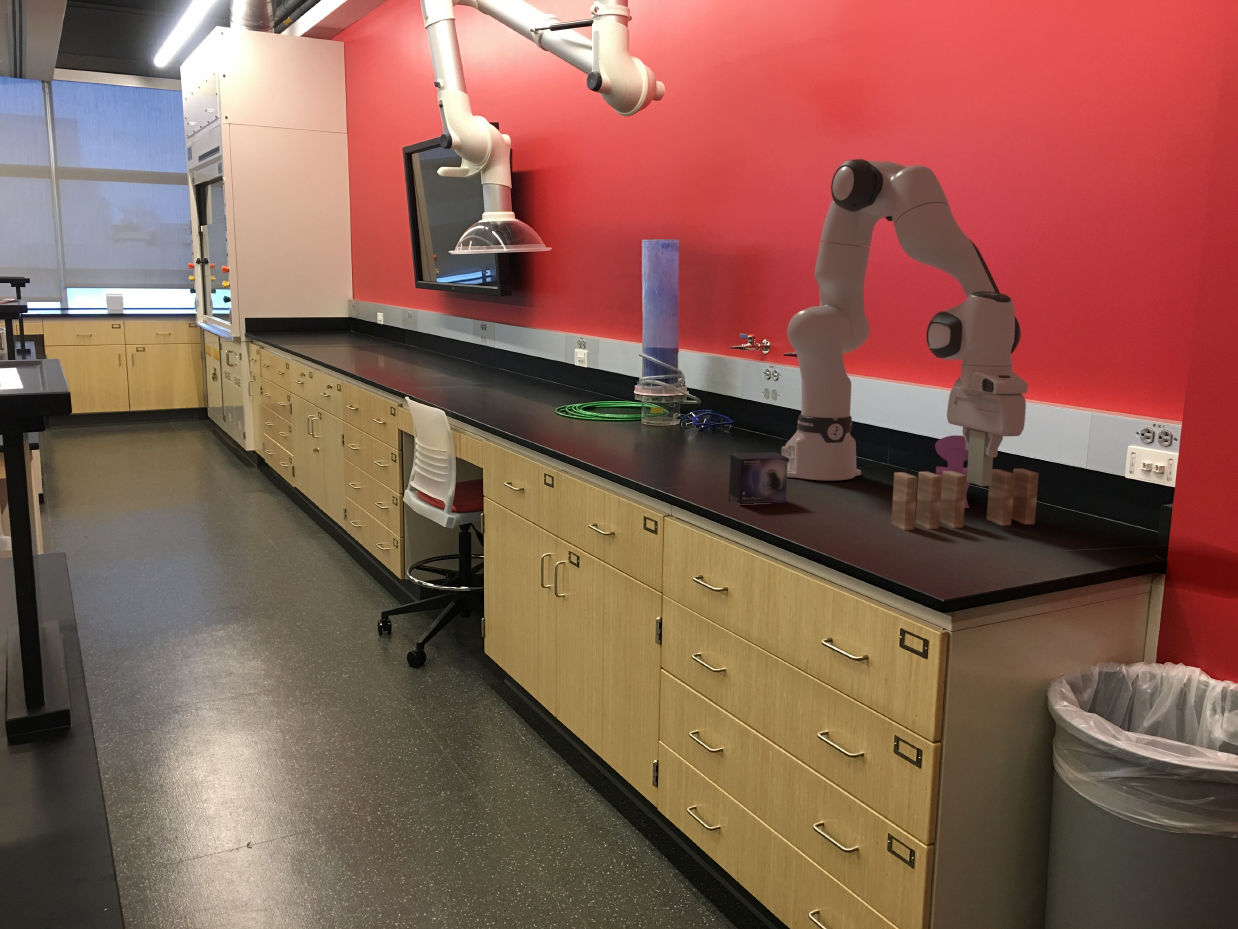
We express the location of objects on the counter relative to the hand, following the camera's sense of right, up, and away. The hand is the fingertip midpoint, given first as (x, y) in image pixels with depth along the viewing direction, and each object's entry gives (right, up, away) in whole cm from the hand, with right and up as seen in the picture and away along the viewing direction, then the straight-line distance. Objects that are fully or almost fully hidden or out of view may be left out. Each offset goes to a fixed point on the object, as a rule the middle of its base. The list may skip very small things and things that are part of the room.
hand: (980, 454), depth 185 cm
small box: (-39, -11, +18) cm, 45 cm away
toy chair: (+1, -11, +19) cm, 22 cm away
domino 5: (+5, -13, +3) cm, 14 cm away
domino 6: (+10, -13, +4) cm, 17 cm away
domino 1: (-15, -14, -1) cm, 20 cm away
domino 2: (-10, -14, 0) cm, 17 cm away
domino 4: (0, -6, +1) cm, 6 cm away
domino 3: (-5, -13, +1) cm, 14 cm away
